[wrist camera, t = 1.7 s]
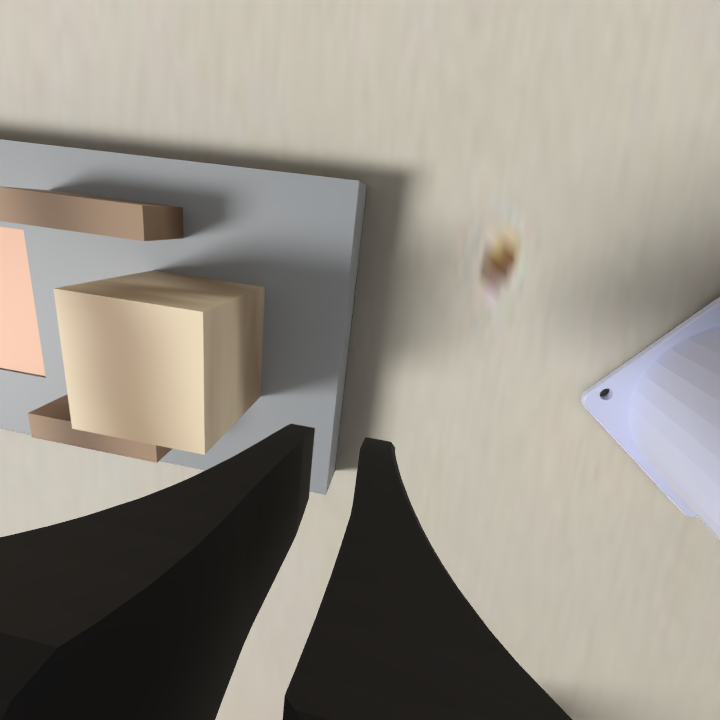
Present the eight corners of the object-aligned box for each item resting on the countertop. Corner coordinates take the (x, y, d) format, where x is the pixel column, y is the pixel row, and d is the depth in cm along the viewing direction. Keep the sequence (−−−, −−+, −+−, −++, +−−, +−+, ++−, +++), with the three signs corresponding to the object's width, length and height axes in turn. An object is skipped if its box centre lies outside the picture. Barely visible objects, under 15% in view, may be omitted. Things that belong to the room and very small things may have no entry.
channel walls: (182, 207, 17) (142, 205, 14) (188, 434, 20) (157, 462, 18) (48, 190, 17) (-12, 185, 15) (76, 412, 21) (32, 437, 18)
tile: (60, 228, 20) (24, 229, 18) (77, 363, 22) (46, 376, 20) (-40, 214, 20) (-84, 213, 19) (-13, 347, 23) (-51, 358, 21)
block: (265, 286, 17) (203, 312, 12) (260, 396, 19) (204, 454, 14) (153, 270, 18) (53, 288, 13) (158, 378, 19) (72, 428, 15)
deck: (367, 185, 17) (359, 180, 15) (334, 471, 22) (325, 494, 20) (-180, 121, 20) (-242, 111, 18) (-105, 385, 25) (-149, 398, 23)
